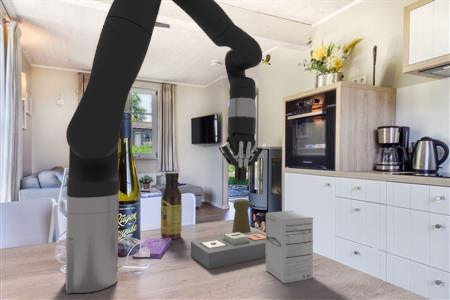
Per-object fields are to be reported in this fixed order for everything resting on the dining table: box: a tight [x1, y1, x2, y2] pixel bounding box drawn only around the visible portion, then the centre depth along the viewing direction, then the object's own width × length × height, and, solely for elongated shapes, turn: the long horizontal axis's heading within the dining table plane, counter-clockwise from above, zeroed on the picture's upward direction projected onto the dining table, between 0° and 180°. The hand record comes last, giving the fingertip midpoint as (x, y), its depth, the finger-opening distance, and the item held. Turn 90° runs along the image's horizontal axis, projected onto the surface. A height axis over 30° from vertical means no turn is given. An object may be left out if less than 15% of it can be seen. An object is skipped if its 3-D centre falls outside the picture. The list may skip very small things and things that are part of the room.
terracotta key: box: [247, 234, 266, 241], centre depth 76 cm, size 4×4×2 cm
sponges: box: [136, 237, 172, 259], centre depth 77 cm, size 7×13×2 cm, turn 178°
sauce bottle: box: [160, 171, 183, 240], centre depth 89 cm, size 6×6×20 cm
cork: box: [231, 198, 252, 234], centre depth 93 cm, size 6×6×11 cm
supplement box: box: [265, 210, 314, 284], centre depth 61 cm, size 7×7×13 cm
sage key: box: [223, 232, 248, 245], centre depth 73 cm, size 4×4×2 cm
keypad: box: [190, 231, 266, 270], centre depth 73 cm, size 20×10×4 cm, turn 120°
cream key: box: [201, 240, 226, 249], centre depth 70 cm, size 4×4×2 cm
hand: (240, 181), depth 78 cm, fingers closed
